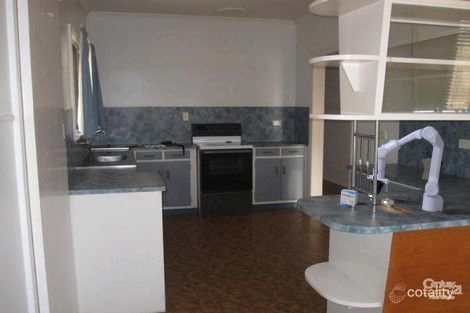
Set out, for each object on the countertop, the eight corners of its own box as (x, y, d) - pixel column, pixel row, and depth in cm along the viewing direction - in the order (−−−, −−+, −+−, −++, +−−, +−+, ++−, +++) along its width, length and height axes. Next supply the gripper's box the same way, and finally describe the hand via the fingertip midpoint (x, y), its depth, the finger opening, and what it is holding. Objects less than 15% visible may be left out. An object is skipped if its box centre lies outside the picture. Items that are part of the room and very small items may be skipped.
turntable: (394, 205, 219) (394, 203, 219) (421, 214, 203) (421, 211, 203) (368, 208, 212) (368, 205, 212) (394, 217, 196) (394, 214, 195)
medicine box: (339, 205, 215) (340, 190, 213) (342, 204, 218) (343, 188, 217) (354, 208, 210) (355, 192, 209) (357, 206, 214) (358, 190, 213)
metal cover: (387, 204, 216) (388, 196, 215) (395, 207, 210) (396, 199, 210) (378, 205, 213) (379, 197, 213) (387, 207, 208) (387, 200, 207)
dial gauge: (371, 206, 215) (372, 193, 214) (376, 208, 212) (377, 195, 211) (365, 207, 214) (366, 194, 213) (370, 209, 210) (372, 195, 209)
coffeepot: (419, 179, 302) (421, 155, 299) (418, 177, 311) (420, 154, 308) (442, 181, 297) (444, 157, 294) (440, 179, 305) (443, 155, 303)
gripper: (363, 167, 221) (361, 191, 223) (383, 172, 208) (380, 197, 210) (374, 167, 224) (371, 190, 226) (393, 171, 211) (391, 197, 213)
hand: (376, 194), depth 218 cm, fingers closed
